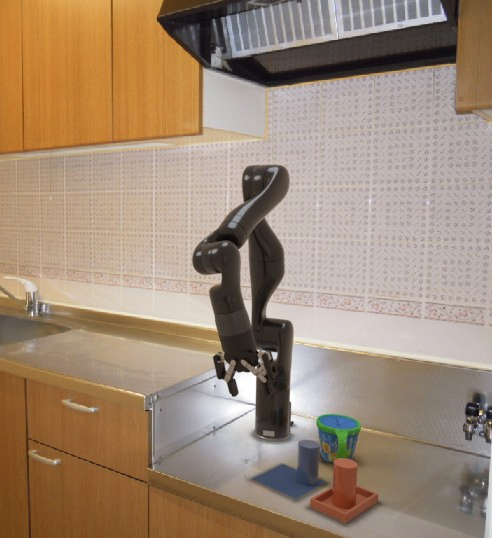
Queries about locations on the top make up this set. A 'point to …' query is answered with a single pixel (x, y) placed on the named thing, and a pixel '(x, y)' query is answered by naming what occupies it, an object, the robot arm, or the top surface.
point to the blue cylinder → (308, 462)
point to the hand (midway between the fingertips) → (251, 395)
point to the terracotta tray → (327, 507)
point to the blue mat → (285, 481)
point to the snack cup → (337, 436)
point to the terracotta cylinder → (344, 483)
